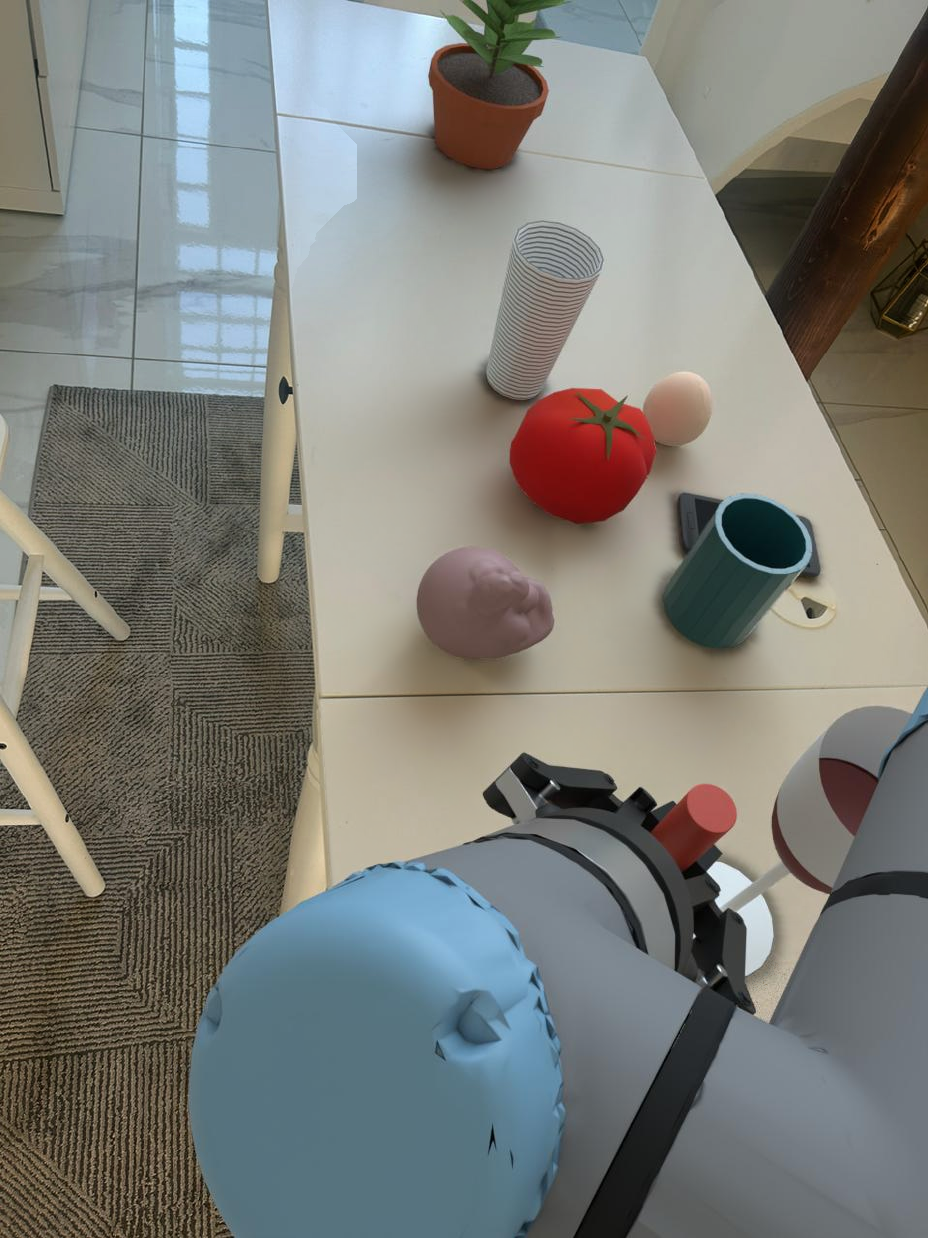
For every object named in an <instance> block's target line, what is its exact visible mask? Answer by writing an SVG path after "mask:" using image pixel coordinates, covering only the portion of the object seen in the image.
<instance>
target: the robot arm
mask: <svg viewBox="0 0 928 1238" xmlns="http://www.w3.org/2000/svg"><path fill="white" fill-rule="evenodd" d="M911 714H912V716H911V718H910V719H909V721H908V723H907V725H906V726H905V727H904V728H903V730H902V732H901V734H900V735H899V737H898V739H897V741H896V742H895V743H894V744H893V745H891V746H890V747H889V748H887V749H886V751H885V754H884V756H883V759H882V761H881V763H880V768H879V772H878V780H879V783H878V785H877V787H876V790H875V792H874V794H873V796H872V799H871V801H870V803H869V806H868V808H867V810H866V812H865V815H864V817H863V819H862V822H861V824H860V826H859V829H858V831H857V833H856V835H855V838H854V840H853V842H852V845H851V847H850V849H849V851H848V854H847V856H846V858H845V861H844V863H843V865H842V868H841V870H840V872H839V874H838V877H837V879H836V881H835V884H834V886H833V888H832V890H831V893H830V894H828V897H827V900H826V901H825V903H824V905H823V907H822V908H821V910H820V914H819V916H818V918H817V919H816V921H815V923H814V925H813V927H812V929H811V931H810V933H809V935H808V937H807V939H806V942H805V944H804V946H803V948H802V950H801V953H800V955H799V957H798V959H797V961H796V963H795V965H794V968H793V969H792V972H791V974H790V976H789V979H788V981H787V982H786V985H785V987H784V989H783V991H782V993H781V996H780V998H779V1000H778V1002H777V1004H776V1006H775V1009H774V1011H773V1013H772V1015H771V1017H770V1020H769V1021H765V1020H763V1019H762V1018H760V1017H757V1016H756V1015H755V1014H756V1013H757V1008H756V1006H755V1004H754V1001H753V999H752V997H751V994H750V990H749V988H748V986H747V984H746V976H745V964H746V935H747V928H746V925H745V924H744V921H743V918H742V917H741V916H740V915H739V914H738V913H737V912H734V911H733V910H731V909H730V908H727V909H726V910H725V911H724V912H722V911H721V910H720V908H719V907H718V906H717V904H716V902H715V899H716V898H717V897H719V895H720V894H719V892H720V891H721V889H720V886H719V885H718V884H717V882H716V881H715V880H714V879H713V878H712V877H711V876H710V875H709V874H708V873H707V871H708V869H709V868H710V867H711V866H712V865H713V864H714V863H715V862H718V860H719V858H720V857H721V856H723V854H724V853H723V852H722V851H721V850H720V849H719V847H718V846H716V844H714V845H713V846H712V847H711V848H709V849H708V850H707V851H706V852H705V853H704V854H703V855H702V856H701V857H699V858H698V859H697V860H696V861H695V862H694V863H693V864H692V865H691V866H689V867H688V868H687V869H686V870H684V871H683V872H681V871H680V869H679V867H678V865H677V864H676V862H675V860H674V859H673V857H672V856H671V855H670V853H669V852H668V851H667V850H666V848H665V847H664V846H663V845H662V844H661V843H660V842H659V841H658V840H657V839H656V838H655V837H654V836H653V835H652V834H651V833H650V832H651V831H652V830H653V829H654V828H655V827H656V826H657V825H658V824H659V823H660V822H661V821H662V820H663V818H664V817H665V816H666V815H667V814H668V813H669V812H670V811H671V810H672V809H673V808H674V807H675V806H676V805H677V804H678V803H676V802H675V801H674V800H671V801H669V802H667V803H665V804H663V805H661V806H659V807H658V802H657V800H656V799H655V798H654V797H653V796H652V795H651V794H650V792H649V791H647V790H646V789H645V788H643V787H642V786H639V787H638V788H637V789H636V790H635V791H633V792H632V793H631V794H630V795H629V796H628V797H626V799H625V800H624V801H622V800H621V799H619V798H618V796H617V795H615V794H614V793H615V792H616V791H617V790H618V789H619V788H618V786H617V784H616V782H615V780H614V778H613V777H612V776H611V775H610V774H609V773H606V772H604V771H603V770H601V769H600V770H597V769H589V768H580V767H571V766H562V765H553V764H548V763H546V762H544V761H542V760H540V759H538V758H536V757H534V756H533V755H530V754H529V753H526V752H525V751H524V752H522V753H521V754H519V756H517V757H516V758H515V760H513V761H512V763H511V764H510V765H508V767H507V768H505V769H504V771H503V772H501V773H500V775H499V776H498V777H496V779H494V781H493V782H491V783H490V785H489V786H488V787H486V788H485V790H483V791H482V796H483V797H482V798H483V799H484V801H485V803H486V805H487V806H488V807H489V808H490V809H492V810H493V811H495V812H497V813H498V814H500V815H502V816H505V817H507V818H510V820H511V822H512V823H513V825H510V826H506V827H504V828H502V829H498V830H495V831H493V832H491V833H488V834H486V835H482V836H480V837H478V838H475V839H474V840H471V841H467V842H464V843H462V844H460V845H456V846H453V847H449V848H445V849H443V850H439V851H436V852H433V853H430V854H429V853H428V854H426V855H423V856H419V857H415V858H411V859H409V860H408V859H407V860H406V861H399V860H398V861H393V862H386V863H377V864H374V865H370V866H368V867H365V868H364V869H363V871H361V870H359V871H356V872H353V873H351V874H349V876H348V877H346V878H345V879H344V880H342V881H340V882H339V883H337V884H335V885H333V886H332V887H330V888H329V889H328V888H327V889H326V890H324V891H323V892H319V893H318V894H315V895H313V896H312V897H309V898H307V899H304V900H302V901H300V902H299V903H298V904H296V905H294V906H293V907H292V908H291V909H289V910H287V911H285V912H284V913H282V914H280V915H278V916H277V917H275V918H274V919H272V920H270V921H269V922H268V923H267V924H265V925H264V926H263V927H261V928H260V929H259V930H258V931H257V932H256V933H255V934H254V935H253V936H251V938H249V939H248V940H247V941H246V942H245V943H244V944H243V945H242V946H241V947H240V948H239V949H238V950H237V951H236V952H235V953H234V954H233V956H232V957H231V959H230V960H229V961H228V963H227V965H226V966H225V967H224V968H223V970H222V972H221V974H220V976H219V977H218V979H217V980H216V982H215V984H214V985H213V987H212V988H211V990H210V991H209V992H208V994H207V996H206V1001H205V1004H204V1009H203V1010H202V1014H201V1017H200V1019H199V1022H198V1024H197V1028H196V1031H195V1036H194V1041H193V1045H192V1049H191V1050H192V1051H191V1056H190V1063H189V1064H190V1065H189V1071H188V1072H189V1073H188V1112H189V1121H190V1122H189V1123H190V1130H191V1131H190V1132H191V1135H192V1140H193V1144H194V1145H193V1146H194V1151H195V1155H196V1159H197V1162H198V1166H199V1169H200V1171H201V1176H202V1178H203V1180H204V1183H205V1185H206V1187H207V1190H208V1192H209V1194H210V1197H211V1199H212V1201H213V1204H214V1205H215V1207H216V1209H217V1211H218V1213H219V1215H220V1217H221V1218H222V1220H223V1222H224V1223H225V1225H226V1227H227V1228H228V1230H229V1232H230V1234H231V1235H232V1236H233V1238H928V686H927V687H926V689H925V690H924V692H923V694H922V695H921V697H920V699H919V700H918V703H917V704H916V706H915V708H914V710H913V712H912V713H911ZM656 807H657V808H656ZM693 933H694V934H695V936H696V937H695V938H694V939H693Z"/></svg>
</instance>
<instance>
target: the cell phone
mask: <svg viewBox="0 0 928 1238" xmlns="http://www.w3.org/2000/svg"><path fill="white" fill-rule="evenodd" d="M724 500H725V499H719V498H715V497H711V496H705V495H701V494H695V493H690V492H682V493H680V494H679V495H678V498H677V512H678V521H679V532H680V542H681V547H682V550H683V552H684V553H685V554H687V553H688V551H689V550H690V548H691V547H692V545H693V544H694V542H695V541H696V539H697V538H698V536H699V535H700V533H701V532H702V530H703V529H704V527H705V525H706V524H707V522H708V521H709V519H710V518H711V516H712V515H713V513H714V512H715V510H716V509H717V507H718V506H719V504H720V503H721V502H722V501H724ZM795 515H796V516H797V517H798V518H799V519H800V521H801V522H802V523H803V524H804V526H805V527H806V528H807V530H808V533H809V535H810V537H811V540H812V556H811V558H810V561H809V563H808V565H807V566H806V567H805V568H804V570H803V571H802V572H801V573H800V574H799V576H798V577H803V578H808V579H813V578H817V577H818V576H820V573H821V571H822V570H821V564H820V558H819V553H818V549H817V543H816V539H815V535H814V534H815V533H814V528H813V525H812V522H811V520H810V519H809V518H807V517H805V516H803V515H799V514H795Z"/></svg>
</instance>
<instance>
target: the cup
mask: <svg viewBox="0 0 928 1238" xmlns="http://www.w3.org/2000/svg"><path fill="white" fill-rule="evenodd" d="M510 248H511V249H510V253H509V259H508V263H507V267H506V273H505V278H504V282H503V286H502V287H503V288H502V292H501V297H500V302H499V307H498V310H497V311H498V312H497V315H496V320H495V321H496V322H495V327H494V331H493V337H492V341H491V342H492V343H491V346H490V351H489V356H488V360H487V361H488V362H487V365H486V370H485V375H486V378H487V382H488V383H489V385H490V386H491V388H492V389H493V390H494V391H496V392H497V393H498V394H500V395H502V396H503V397H506V398H509V399H512V400H518V401H526V400H531V399H533V398H535V397H536V396H537V395H539V394H540V393H541V392H542V390H543V388H544V387H545V385H546V382H547V380H548V378H549V377H550V374H551V373H552V371H553V368H554V367H555V364H556V363H557V361H558V359H559V356H560V354H561V353H562V351H563V348H564V347H565V345H566V343H567V341H568V339H569V337H570V335H571V333H572V331H573V329H574V327H575V325H576V323H577V321H578V319H579V317H580V315H581V313H582V311H583V309H584V307H585V305H586V303H587V302H588V299H589V297H590V295H591V293H592V291H593V290H594V287H595V285H596V283H597V281H598V279H599V277H600V275H601V273H602V271H603V267H604V264H605V259H604V256H603V252H602V249H601V248H600V247H599V245H597V244H596V242H595V241H594V240H593V239H592V238H591V237H590V236H588V235H587V234H585V233H584V232H582V231H580V230H579V229H577V227H573V226H570V225H567V224H565V223H561V222H558V221H550V220H537V221H530V222H526V223H525V224H524V225H521V226H520V227H519V228H516V231H515V234H514V236H513V239H512V243H511V247H510Z"/></svg>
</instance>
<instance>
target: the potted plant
mask: <svg viewBox="0 0 928 1238" xmlns="http://www.w3.org/2000/svg"><path fill="white" fill-rule="evenodd" d="M459 1H460V2H461V3H462V4H463V5H464V6H465V7H466V8H467V9H469V10H470V11H471V12H472V13H473V14H474V15H475V16H476V17H477V18H478V19H479V20H481V21H482V22H483V23H484V29H483V33H481V32H479V31H477V30H474V28H472V27H471V25H469V24H468V23H467V22H466V21H464V20H463V19H462V18H460V17H459V16H456V15H454V14H453V15H452V14H450V15H447V14H445V12H444V11H443V10H441V9H439V11H440V13H441V14H442V15H443V16H444V18H445V20H446V21H447V23H448V24H449V25H450V27H452V29H453V30H454V31H455V32H456V33H457V34H458V35H459V36H460V37H461V38H462V39H463V40H464V41H465V42H458V43H452V44H448V45H444V46H442V47H440V48H439V49H437V50H435V52H434V53H433V55H432V57H431V58H430V63H429V70H428V85H429V87H430V89H431V91H432V108H433V127H434V128H433V129H434V141H435V144H436V146H437V147H438V149H439V150H440V151H441V152H442V153H443V154H444V155H446V156H447V157H448V158H450V159H451V160H453V161H455V162H457V163H459V164H462V165H465V166H467V167H470V168H477V169H483V170H492V169H493V170H494V169H499V168H502V167H505V166H506V165H507V164H509V163H510V162H511V160H512V159H513V157H514V155H515V154H516V152H517V150H518V149H519V147H520V145H521V144H522V141H523V140H524V138H525V136H526V135H527V133H528V131H529V129H530V128H531V126H532V124H533V122H534V121H535V120H536V119H538V118H539V117H540V116H542V114H543V111H544V108H545V105H546V102H547V99H548V96H549V92H550V89H549V87H548V82H547V80H546V78H545V77H544V76H543V75H542V73H541V72H540V70H538V69H537V68H536V67H539V68H544V66H543V65H542V64H543V59H542V58H540V57H538V56H534V55H531V54H525V53H524V52H525V51H526V50H527V49H528V47H529V46H530V45H531V43H532V42H533V41H541V40H543V41H544V40H552V39H560V38H562V36H556V33H555V32H556V31H554V30H553V29H550V28H535V26H534V25H535V23H536V21H537V20H538V19H537V17H536V18H535V19H533V20H531V21H530V22H525V21H519V18H520V16H521V15H524V14H530V13H534V12H538V11H541V10H546V9H550V8H554V7H559V6H562V5H567V4H568V3H572V2H573V0H568V1H565V0H485V1H486V8H487V12H486V10H484V9H483V8H482V7H481V6H480V5H479V4H478V3H476V2H475V1H474V0H459Z"/></svg>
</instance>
